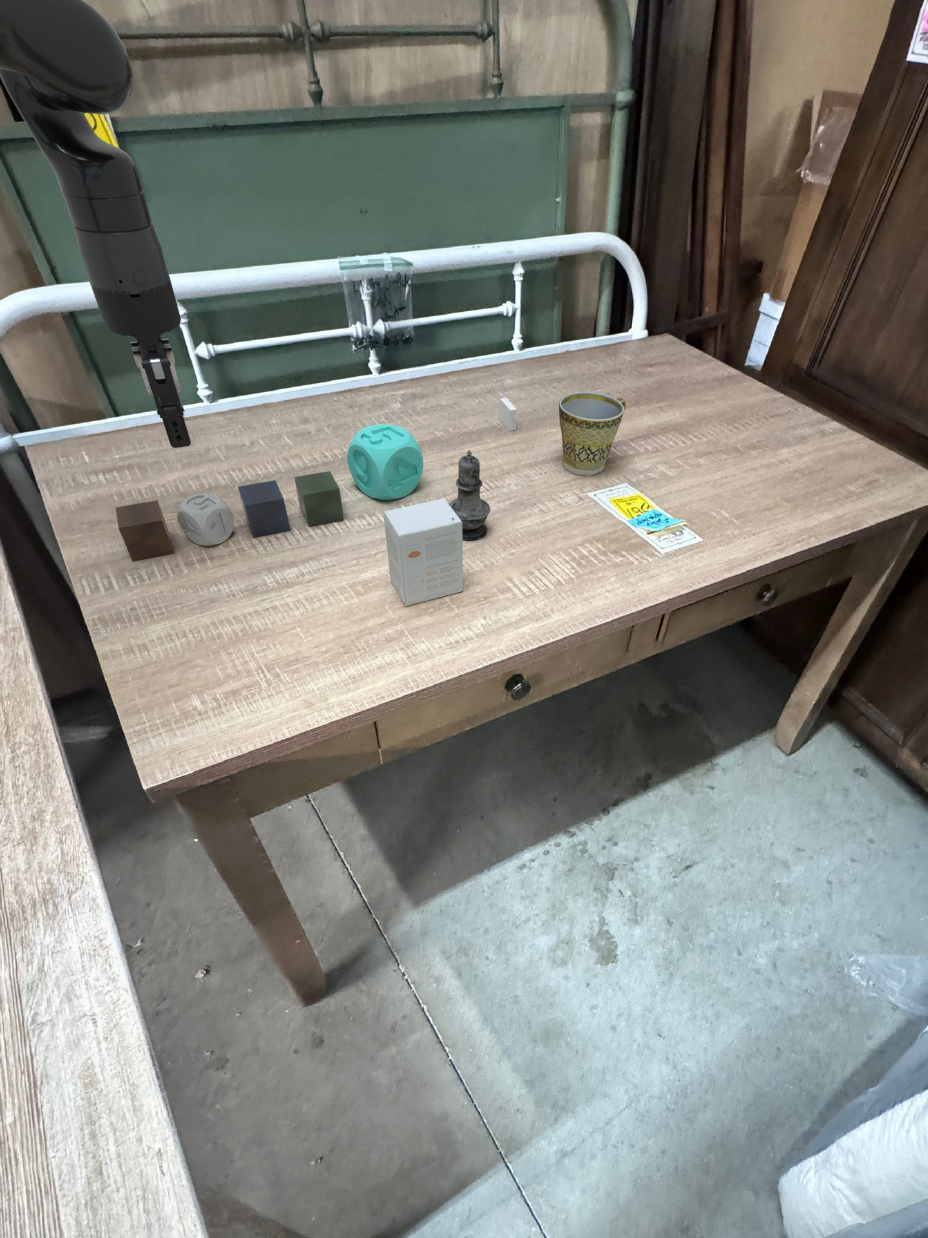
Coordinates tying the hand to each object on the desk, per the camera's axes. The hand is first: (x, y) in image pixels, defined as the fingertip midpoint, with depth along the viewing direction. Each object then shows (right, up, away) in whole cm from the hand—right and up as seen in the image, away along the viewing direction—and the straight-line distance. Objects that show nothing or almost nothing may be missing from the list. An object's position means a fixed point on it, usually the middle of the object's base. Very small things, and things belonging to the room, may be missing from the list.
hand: (176, 429), depth 81 cm
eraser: (+39, +16, +39) cm, 57 cm away
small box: (+29, -18, +6) cm, 35 cm away
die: (-1, -10, +11) cm, 15 cm away
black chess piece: (+34, -8, +15) cm, 38 cm away
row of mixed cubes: (+3, -9, +12) cm, 15 cm away
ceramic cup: (+52, +6, +31) cm, 61 cm away
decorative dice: (+21, 0, +22) cm, 31 cm away
